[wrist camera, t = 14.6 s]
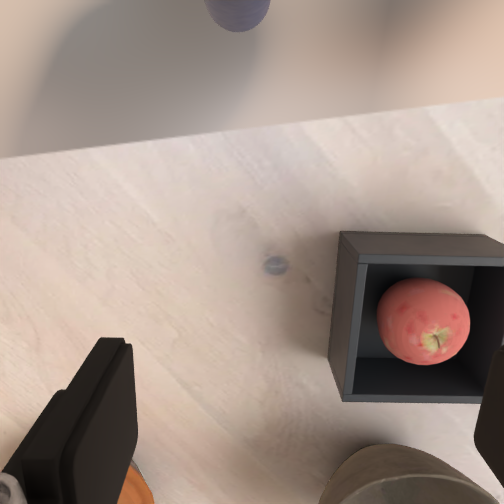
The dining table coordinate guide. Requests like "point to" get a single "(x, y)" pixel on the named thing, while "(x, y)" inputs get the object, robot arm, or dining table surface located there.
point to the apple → (422, 321)
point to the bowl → (400, 479)
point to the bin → (387, 274)
